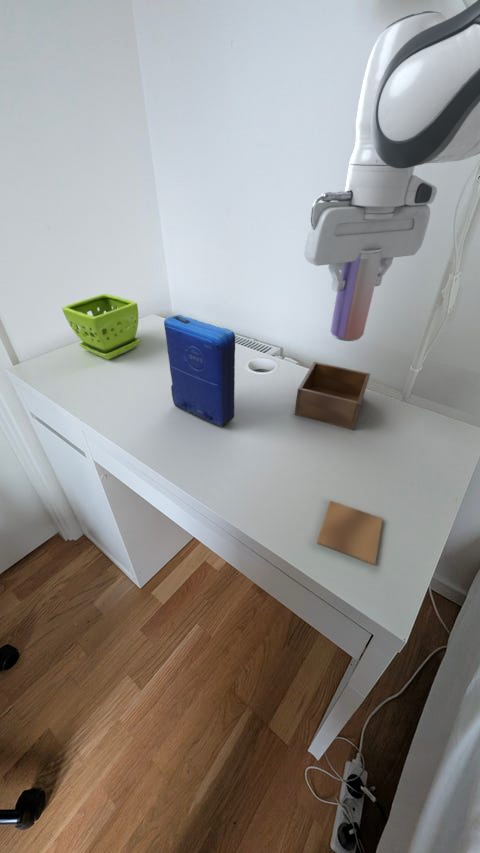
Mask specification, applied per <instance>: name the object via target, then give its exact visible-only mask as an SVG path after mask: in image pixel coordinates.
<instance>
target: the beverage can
mask: <svg viewBox="0 0 480 853" xmlns="http://www.w3.org/2000/svg"><path fill="white" fill-rule="evenodd" d="M381 251H382V248H381V249H379V250H368V251H364V250H361V251H360V255H359V257H358V258H357V260H356V261H355V262H348V263H344V266H343V270H340V274H341V277H342V279H345V280H346V285H345V289H344V290H343V291H336V295H335V296H336V297H335V302H334V307H333V312H332V320H331V326H330V333H331V336H332V337H333V338H334V339H336V340H339V341H342V342H354V341H358V340H360V339H361V338H362V337H363V335H364V334H365V329H366V325H367V321H368V316H369V313H370V308H371V304H372V300H373V296H374V292H375V287H376V286H375V283H376V279H377V275H378V270H379V266H380V262H381V258H382V252H381Z"/></svg>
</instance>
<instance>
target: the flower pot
mask: <svg viewBox="0 0 480 853" xmlns="http://www.w3.org/2000/svg"><path fill="white" fill-rule="evenodd" d="M138 306H139V305H138V303H137V302H136V301H133V300H130V299H126V298H123V297H120V296H115V295H112V294H109V293H102V294H98V295H95V296H92V297H88V298H86V299H82V300H80V301H79V300H78V301H76V302H72V303H70V304H68V305H64V306H62V307H61V309H62V312H63V314H64V317H65V319H66V321H67V323H68V324H69V326H70V328H71V330H72V331H73V332H74V334H75V335H76V336H77V337H78V339H79V340H81V341H82V342H80V343H79V344H78V345H79V347H81V348H82V349H84V350H86V351H88V352H90V353H92V354H93V355H96V356H99V357H101V358H103V359H106V360H111V359H113V358H115V357H117V356H120V355H122V354H123V353H126V352H128V351H130V350H132V349H135V348H137V347H138V346H139V344H140V343H141V339H140V338H138V337H136V335H137V332H138V326H139V307H138ZM88 312H91V314H92V315H91V314H88Z"/></svg>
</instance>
